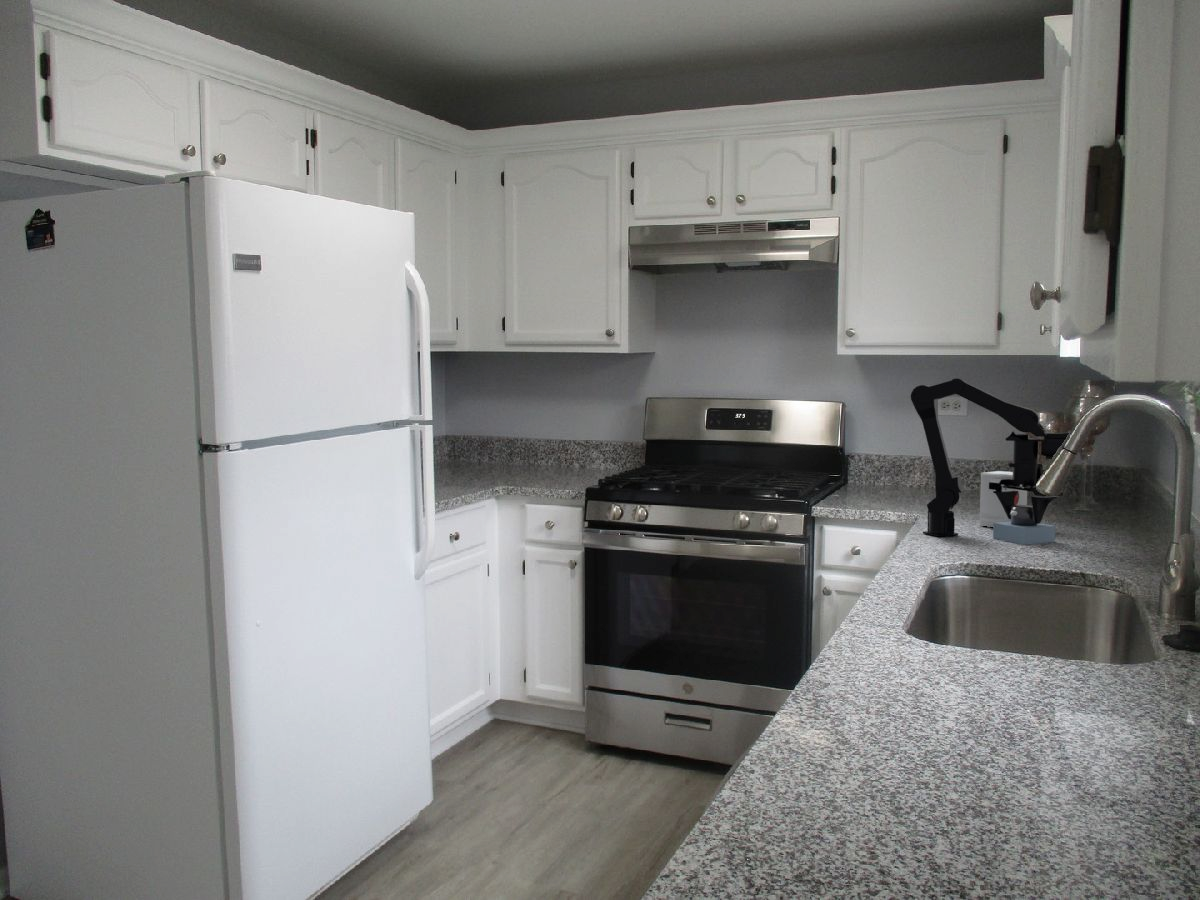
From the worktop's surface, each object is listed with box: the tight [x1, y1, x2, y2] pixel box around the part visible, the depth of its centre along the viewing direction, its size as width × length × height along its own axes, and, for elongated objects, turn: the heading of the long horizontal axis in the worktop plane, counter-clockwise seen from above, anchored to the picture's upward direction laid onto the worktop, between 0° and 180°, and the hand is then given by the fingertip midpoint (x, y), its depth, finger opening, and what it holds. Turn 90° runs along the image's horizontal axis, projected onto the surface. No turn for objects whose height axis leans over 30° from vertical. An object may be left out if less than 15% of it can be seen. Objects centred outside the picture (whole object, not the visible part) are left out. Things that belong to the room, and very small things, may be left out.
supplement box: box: [979, 470, 1028, 528], centre depth 260 cm, size 9×9×15 cm
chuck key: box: [1010, 504, 1037, 526], centre depth 238 cm, size 8×6×8 cm
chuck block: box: [992, 522, 1056, 546], centre depth 238 cm, size 10×10×4 cm
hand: (1023, 521), depth 238 cm, fingers open, 8 cm apart
